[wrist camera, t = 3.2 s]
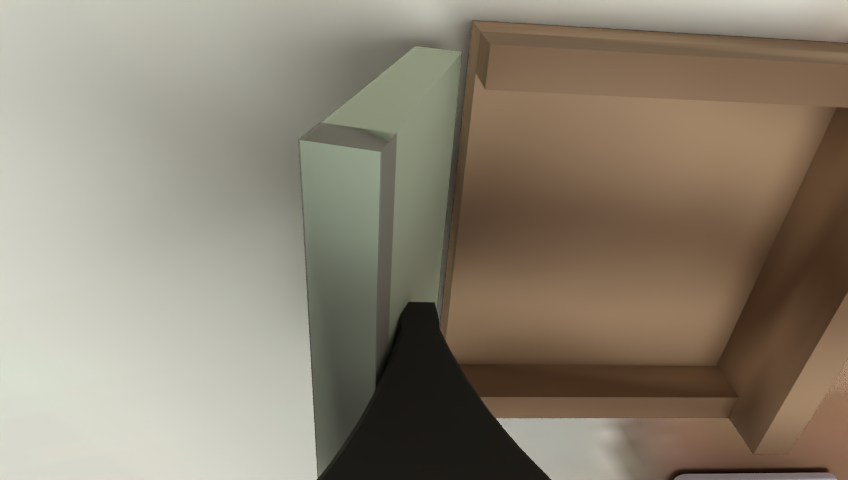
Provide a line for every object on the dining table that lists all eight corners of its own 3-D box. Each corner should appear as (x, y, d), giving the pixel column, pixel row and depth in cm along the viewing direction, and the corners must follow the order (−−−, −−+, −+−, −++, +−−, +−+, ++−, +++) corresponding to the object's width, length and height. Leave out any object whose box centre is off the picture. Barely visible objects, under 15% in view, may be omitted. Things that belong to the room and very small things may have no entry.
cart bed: (717, 357, 22) (787, 454, 18) (437, 355, 21) (448, 456, 17) (861, 43, 15) (1019, 88, 12) (472, 20, 15) (502, 60, 11)
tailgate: (431, 374, 19) (370, 575, 13) (396, 367, 19) (322, 562, 13) (462, 51, 13) (382, 152, 8) (414, 45, 14) (298, 139, 8)
